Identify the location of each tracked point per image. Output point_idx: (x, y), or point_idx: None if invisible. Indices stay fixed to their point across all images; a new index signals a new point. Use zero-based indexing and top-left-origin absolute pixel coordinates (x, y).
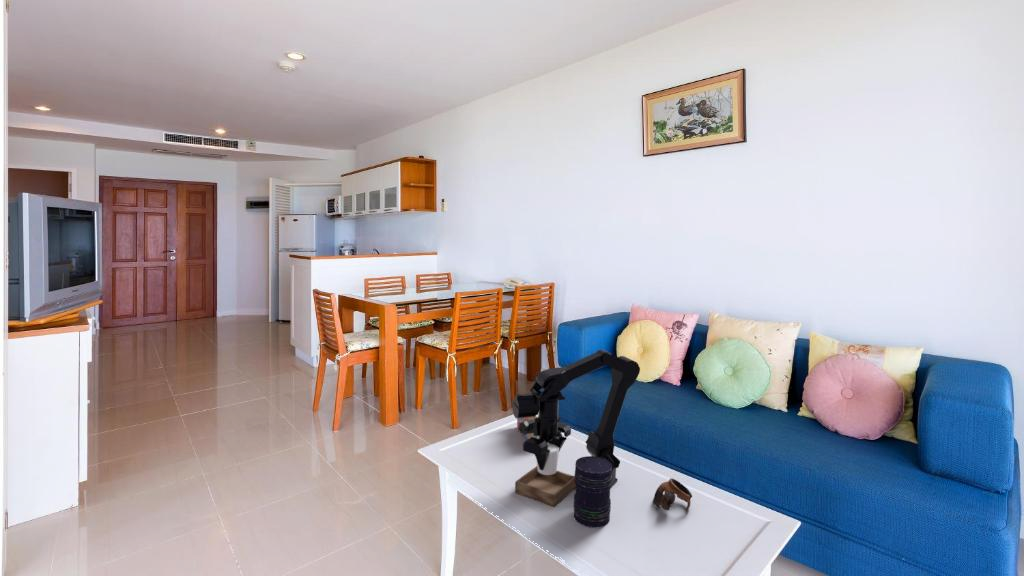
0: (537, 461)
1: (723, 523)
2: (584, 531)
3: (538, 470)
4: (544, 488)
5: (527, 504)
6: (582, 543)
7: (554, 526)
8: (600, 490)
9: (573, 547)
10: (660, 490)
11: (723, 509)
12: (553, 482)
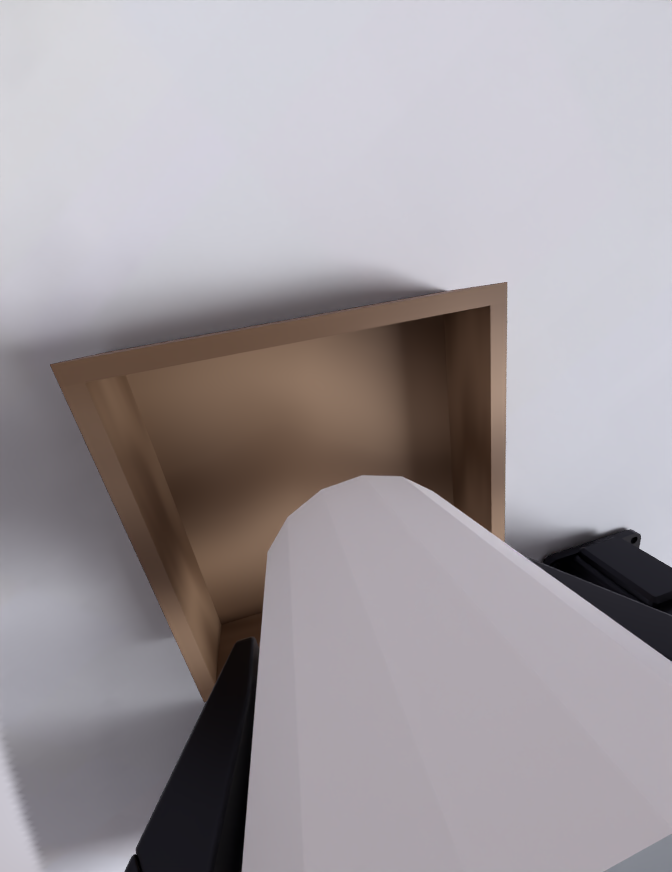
0: (167, 792)
1: None
2: None
3: (269, 559)
4: (316, 472)
5: (83, 523)
6: (99, 853)
7: (74, 741)
8: None
9: (39, 863)
10: None
11: None
12: (418, 456)
